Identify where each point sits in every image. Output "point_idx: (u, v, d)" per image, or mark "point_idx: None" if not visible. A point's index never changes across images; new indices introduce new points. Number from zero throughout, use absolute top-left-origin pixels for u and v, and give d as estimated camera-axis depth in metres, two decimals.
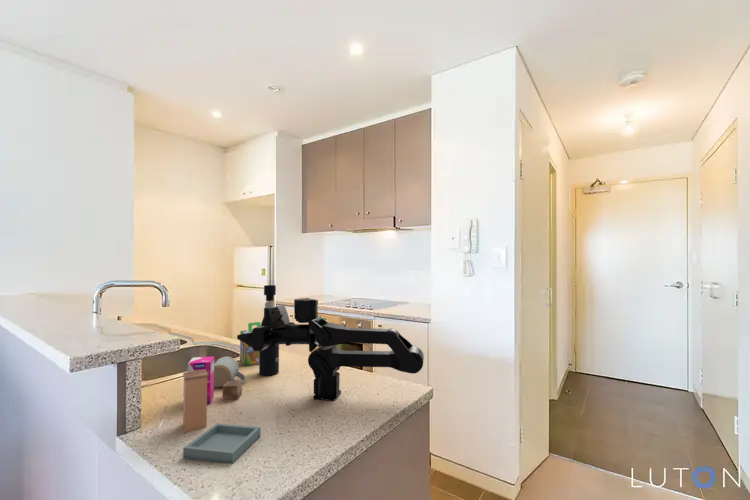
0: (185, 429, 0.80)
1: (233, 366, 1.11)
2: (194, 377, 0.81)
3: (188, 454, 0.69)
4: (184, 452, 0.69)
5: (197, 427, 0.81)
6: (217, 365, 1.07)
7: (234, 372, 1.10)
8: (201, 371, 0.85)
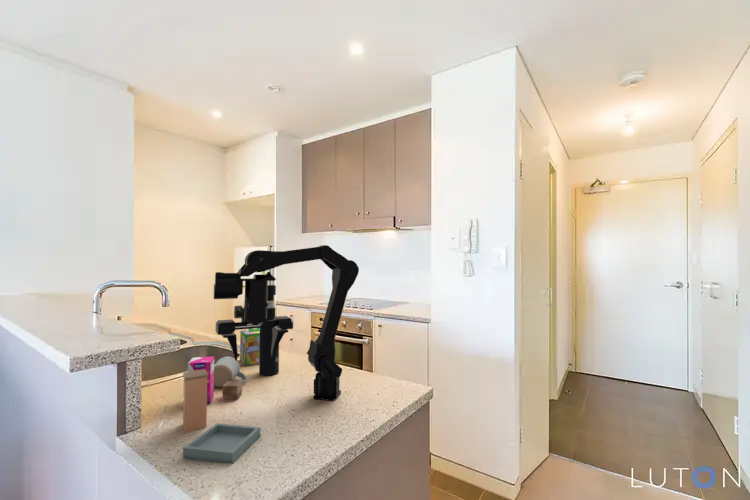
0: (185, 429, 0.80)
1: (234, 366, 1.11)
2: (194, 377, 0.81)
3: (188, 454, 0.69)
4: (184, 452, 0.69)
5: (197, 427, 0.81)
6: (218, 365, 1.07)
7: (235, 372, 1.10)
8: (201, 371, 0.85)
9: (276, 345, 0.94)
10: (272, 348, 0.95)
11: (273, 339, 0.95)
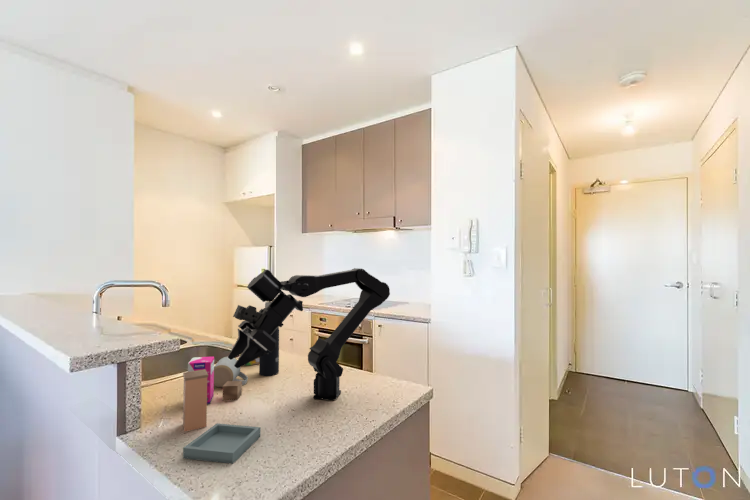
0: (185, 429, 0.80)
1: None
2: (194, 377, 0.81)
3: (188, 454, 0.69)
4: (184, 452, 0.69)
5: (197, 427, 0.81)
6: (219, 365, 1.07)
7: (236, 372, 1.10)
8: (201, 371, 0.85)
9: None
10: (236, 353, 0.92)
11: (241, 344, 0.93)
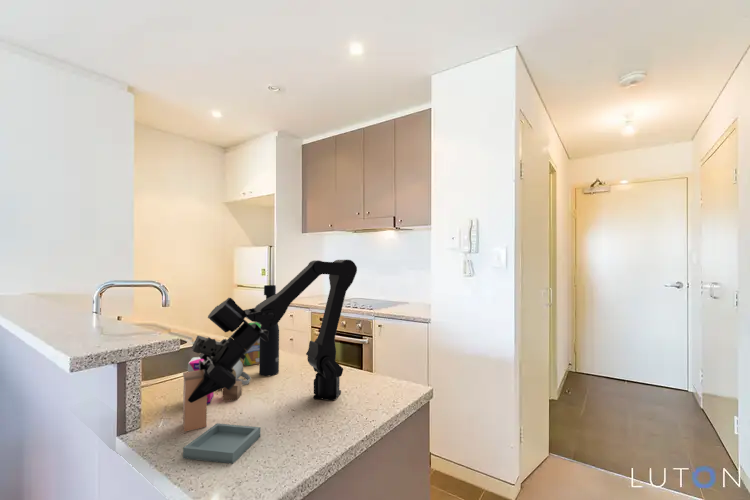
0: (185, 429, 0.80)
1: (238, 366, 1.11)
2: (194, 377, 0.81)
3: (188, 454, 0.69)
4: (184, 452, 0.69)
5: (197, 427, 0.81)
6: None
7: (239, 372, 1.11)
8: (201, 371, 0.85)
9: None
10: None
11: None
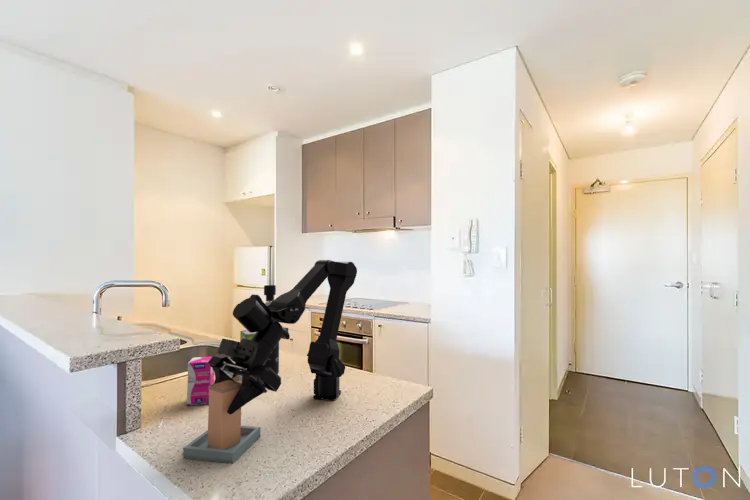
0: (221, 448, 0.70)
1: None
2: (230, 388, 0.72)
3: (188, 454, 0.69)
4: (184, 452, 0.69)
5: (232, 444, 0.72)
6: None
7: None
8: (228, 382, 0.75)
9: None
10: None
11: None
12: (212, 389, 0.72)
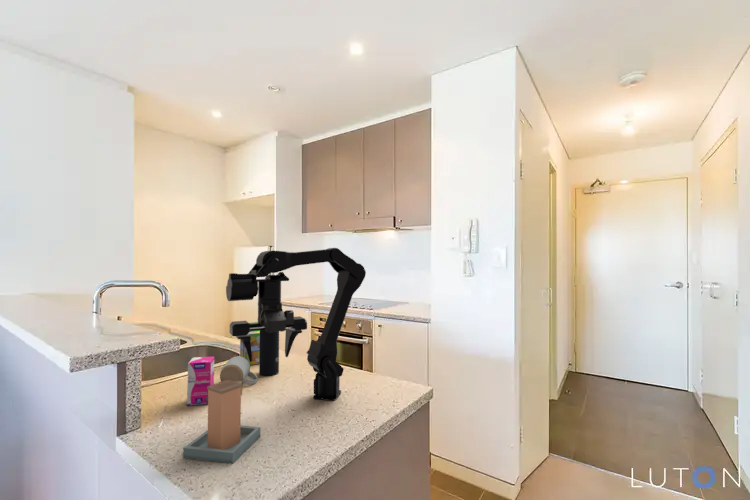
0: None
1: (245, 366, 1.11)
2: (230, 389, 0.72)
3: (188, 454, 0.69)
4: (184, 452, 0.69)
5: (232, 444, 0.72)
6: (229, 365, 1.08)
7: (246, 372, 1.11)
8: (227, 382, 0.75)
9: None
10: None
11: None
12: (211, 390, 0.72)
